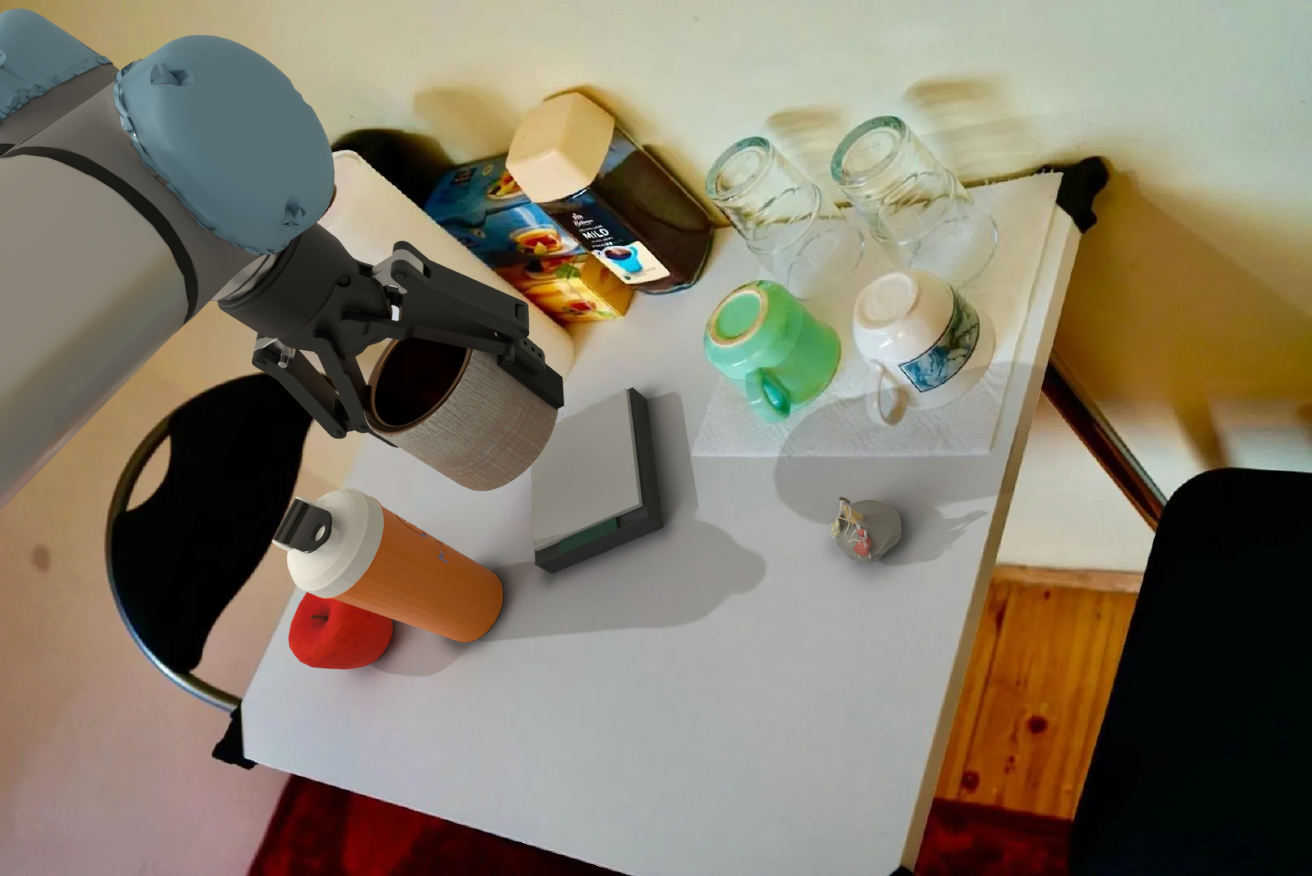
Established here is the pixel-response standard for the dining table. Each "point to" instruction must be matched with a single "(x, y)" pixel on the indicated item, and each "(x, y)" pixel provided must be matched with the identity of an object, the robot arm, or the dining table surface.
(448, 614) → the shaker bottle
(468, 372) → the planter
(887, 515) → the figurine
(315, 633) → the apple
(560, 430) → the scale
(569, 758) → the dining table surface
